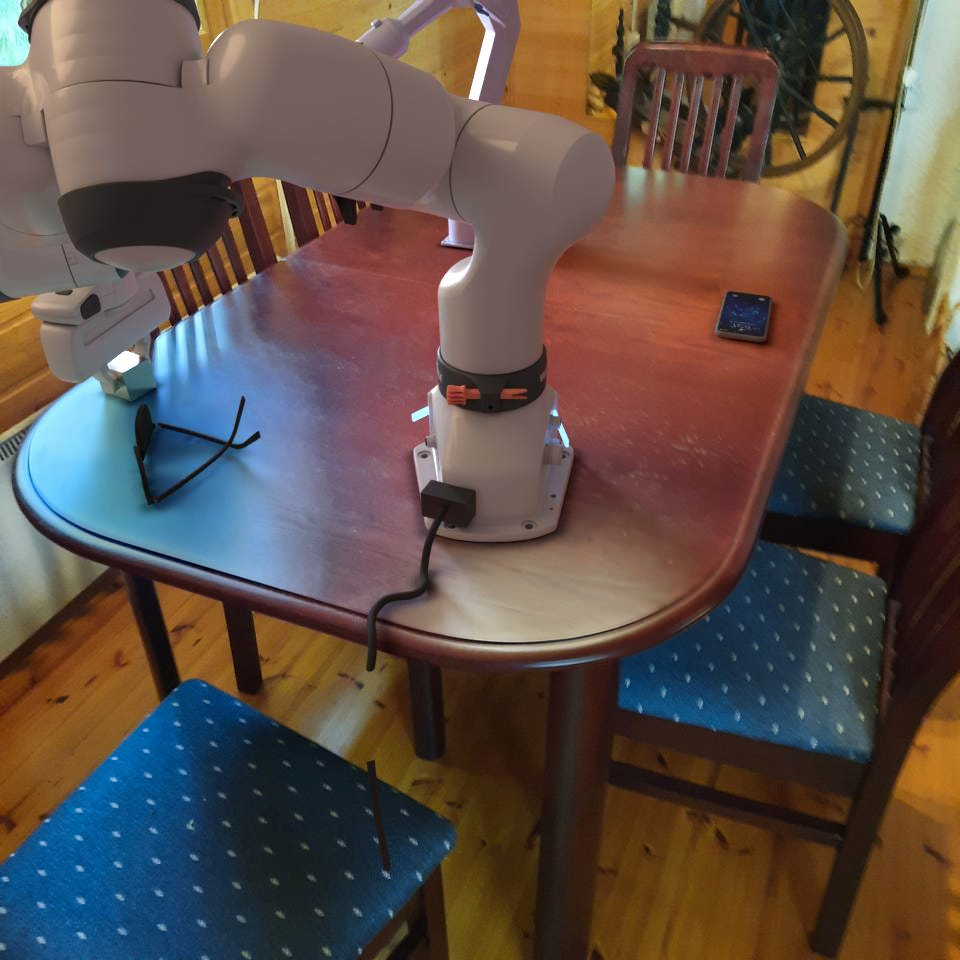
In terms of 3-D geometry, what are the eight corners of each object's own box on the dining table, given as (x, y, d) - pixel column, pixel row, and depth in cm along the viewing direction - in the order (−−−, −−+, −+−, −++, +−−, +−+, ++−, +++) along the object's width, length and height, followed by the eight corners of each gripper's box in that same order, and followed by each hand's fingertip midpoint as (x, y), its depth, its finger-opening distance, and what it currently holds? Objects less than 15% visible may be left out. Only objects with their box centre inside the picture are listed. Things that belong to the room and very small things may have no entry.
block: (131, 377, 118) (123, 349, 115) (157, 386, 116) (148, 358, 113) (105, 392, 115) (96, 364, 112) (130, 401, 113) (122, 373, 110)
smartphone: (773, 295, 132) (766, 339, 121) (772, 301, 133) (765, 345, 121) (725, 289, 134) (713, 331, 123) (724, 295, 135) (712, 337, 123)
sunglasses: (270, 486, 97) (262, 449, 94) (137, 510, 94) (125, 474, 91) (257, 411, 110) (250, 377, 107) (140, 430, 107) (130, 396, 104)
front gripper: (128, 248, 115) (153, 340, 123) (19, 312, 99) (57, 414, 107) (168, 252, 113) (191, 346, 121) (64, 319, 98) (99, 421, 106)
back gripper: (363, 120, 145) (371, 200, 153) (307, 141, 135) (318, 226, 143) (397, 125, 142) (403, 206, 150) (342, 147, 132) (352, 233, 140)
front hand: (128, 378), depth 114 cm, fingers open, 5 cm apart
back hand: (364, 216), depth 146 cm, fingers open, 7 cm apart
